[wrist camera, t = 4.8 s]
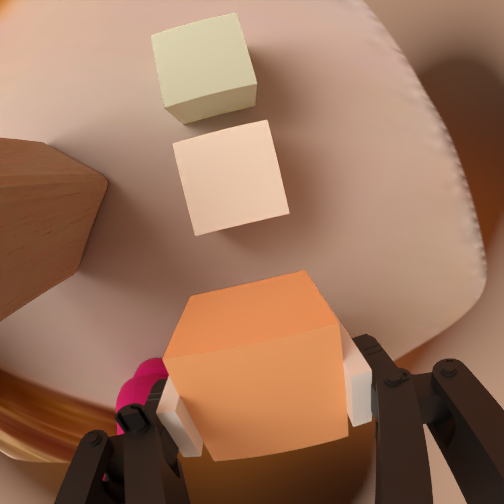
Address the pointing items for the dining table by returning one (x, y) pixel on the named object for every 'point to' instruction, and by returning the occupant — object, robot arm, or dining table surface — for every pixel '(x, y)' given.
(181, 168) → the cream cube
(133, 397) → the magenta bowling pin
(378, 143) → the dining table surface
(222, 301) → the orange cube
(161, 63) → the sage cube
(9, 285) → the wooden block
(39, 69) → the dining table surface
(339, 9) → the dining table surface
